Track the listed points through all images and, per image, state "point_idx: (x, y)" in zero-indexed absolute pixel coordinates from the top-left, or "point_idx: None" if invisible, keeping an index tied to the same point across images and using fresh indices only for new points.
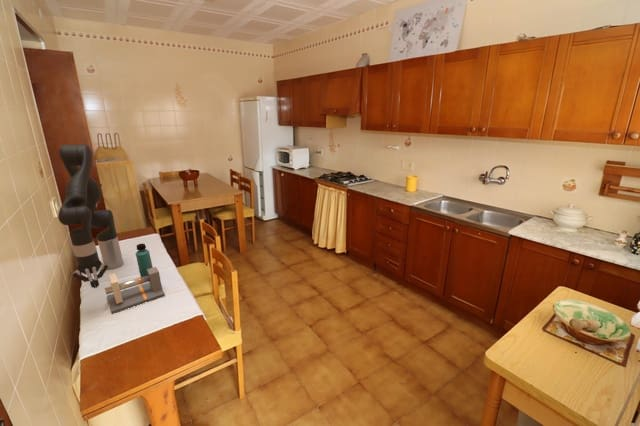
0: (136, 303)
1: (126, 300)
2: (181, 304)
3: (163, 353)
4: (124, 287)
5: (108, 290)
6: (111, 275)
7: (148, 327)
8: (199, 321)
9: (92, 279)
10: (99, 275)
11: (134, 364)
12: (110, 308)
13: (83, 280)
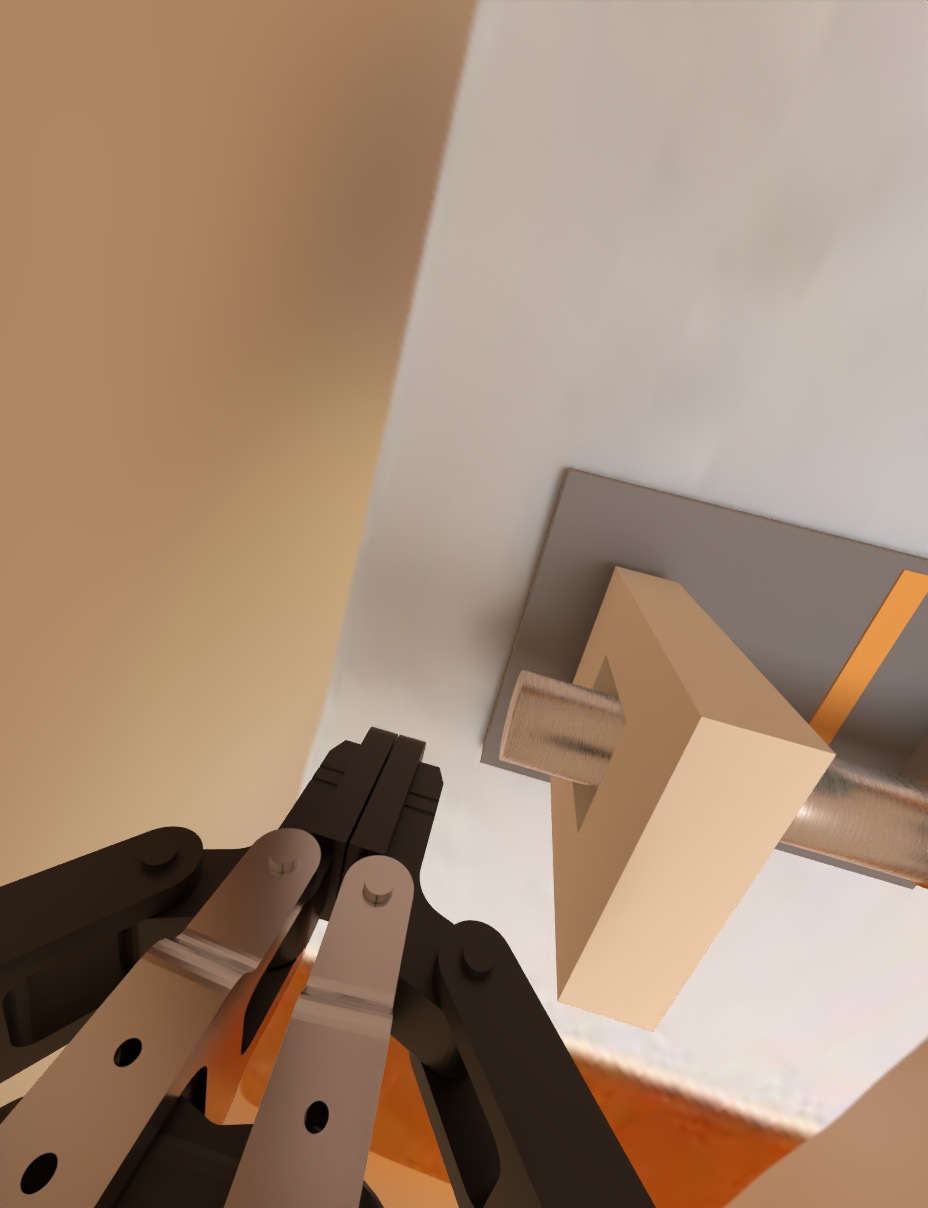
0: None
1: None
2: (855, 1017)
3: None
4: None
5: (533, 769)
6: (723, 779)
7: (569, 1009)
8: (767, 1161)
9: (293, 972)
10: (423, 1088)
11: (406, 1104)
12: (496, 719)
13: (111, 958)
